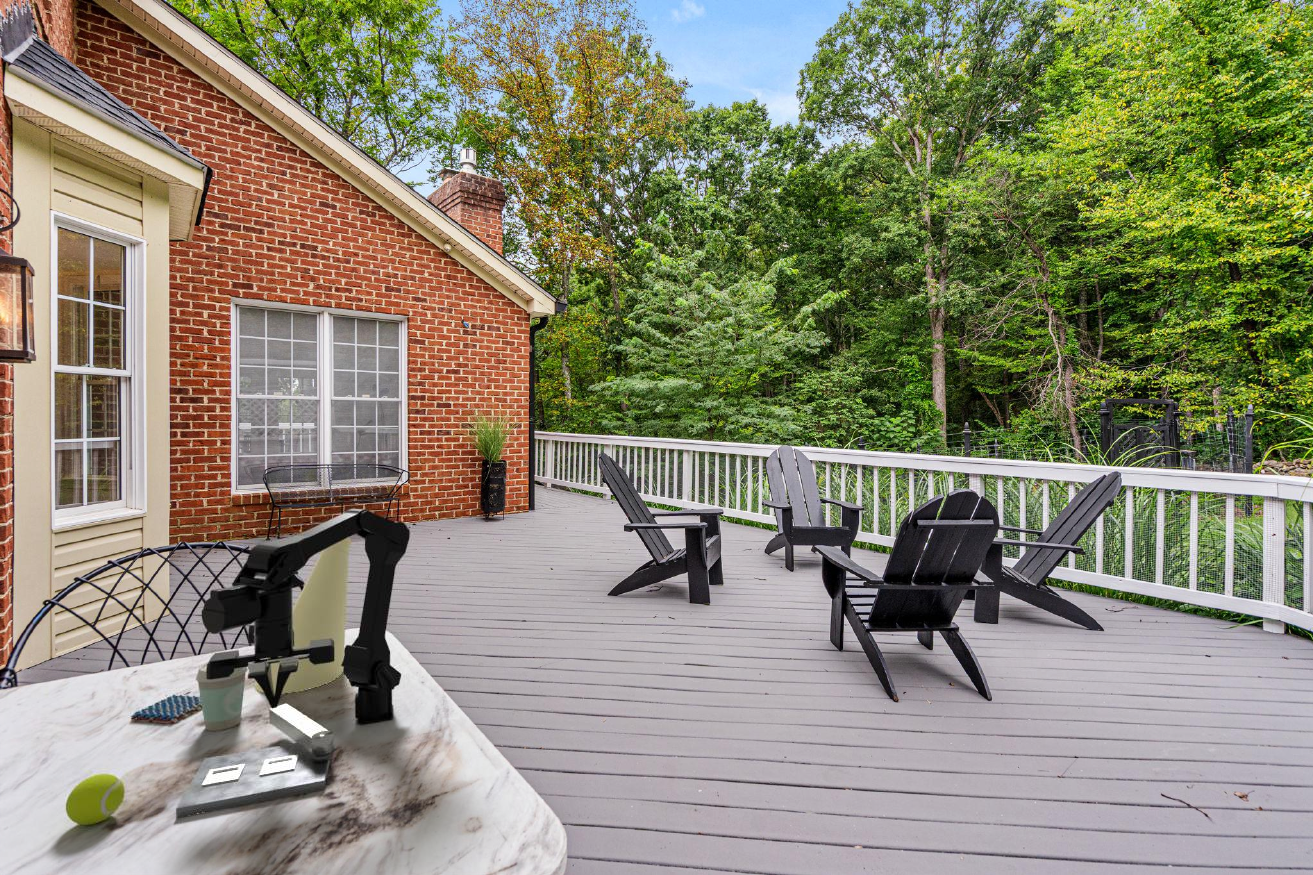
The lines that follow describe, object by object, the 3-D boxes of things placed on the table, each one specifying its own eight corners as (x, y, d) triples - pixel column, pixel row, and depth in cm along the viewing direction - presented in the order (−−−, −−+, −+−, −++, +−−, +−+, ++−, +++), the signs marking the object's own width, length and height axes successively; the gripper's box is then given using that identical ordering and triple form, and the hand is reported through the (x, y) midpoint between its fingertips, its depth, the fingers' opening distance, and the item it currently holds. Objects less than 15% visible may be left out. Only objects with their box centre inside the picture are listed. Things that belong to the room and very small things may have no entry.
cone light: (235, 686, 148) (232, 533, 148) (306, 659, 165) (303, 521, 164) (312, 703, 139) (309, 539, 138) (380, 673, 156) (377, 526, 155)
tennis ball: (94, 807, 101) (93, 764, 101) (136, 808, 101) (135, 765, 101) (53, 834, 95) (52, 789, 95) (98, 835, 95) (96, 789, 94)
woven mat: (216, 704, 140) (216, 695, 140) (174, 727, 130) (173, 716, 130) (173, 702, 142) (173, 692, 142) (127, 724, 131) (127, 714, 131)
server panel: (336, 744, 121) (336, 730, 121) (328, 788, 106) (328, 773, 106) (204, 767, 113) (204, 752, 113) (176, 818, 98) (175, 801, 98)
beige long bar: (336, 750, 113) (335, 734, 113) (316, 757, 111) (316, 741, 111) (287, 717, 126) (286, 702, 126) (268, 723, 124) (268, 708, 124)
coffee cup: (223, 736, 125) (221, 673, 124) (185, 732, 126) (184, 670, 126) (258, 716, 133) (257, 658, 133) (223, 713, 135) (222, 655, 134)
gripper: (334, 599, 124) (335, 681, 124) (216, 612, 116) (217, 700, 116) (333, 614, 114) (334, 703, 114) (205, 629, 106) (206, 725, 106)
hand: (274, 707), depth 113 cm, fingers closed
